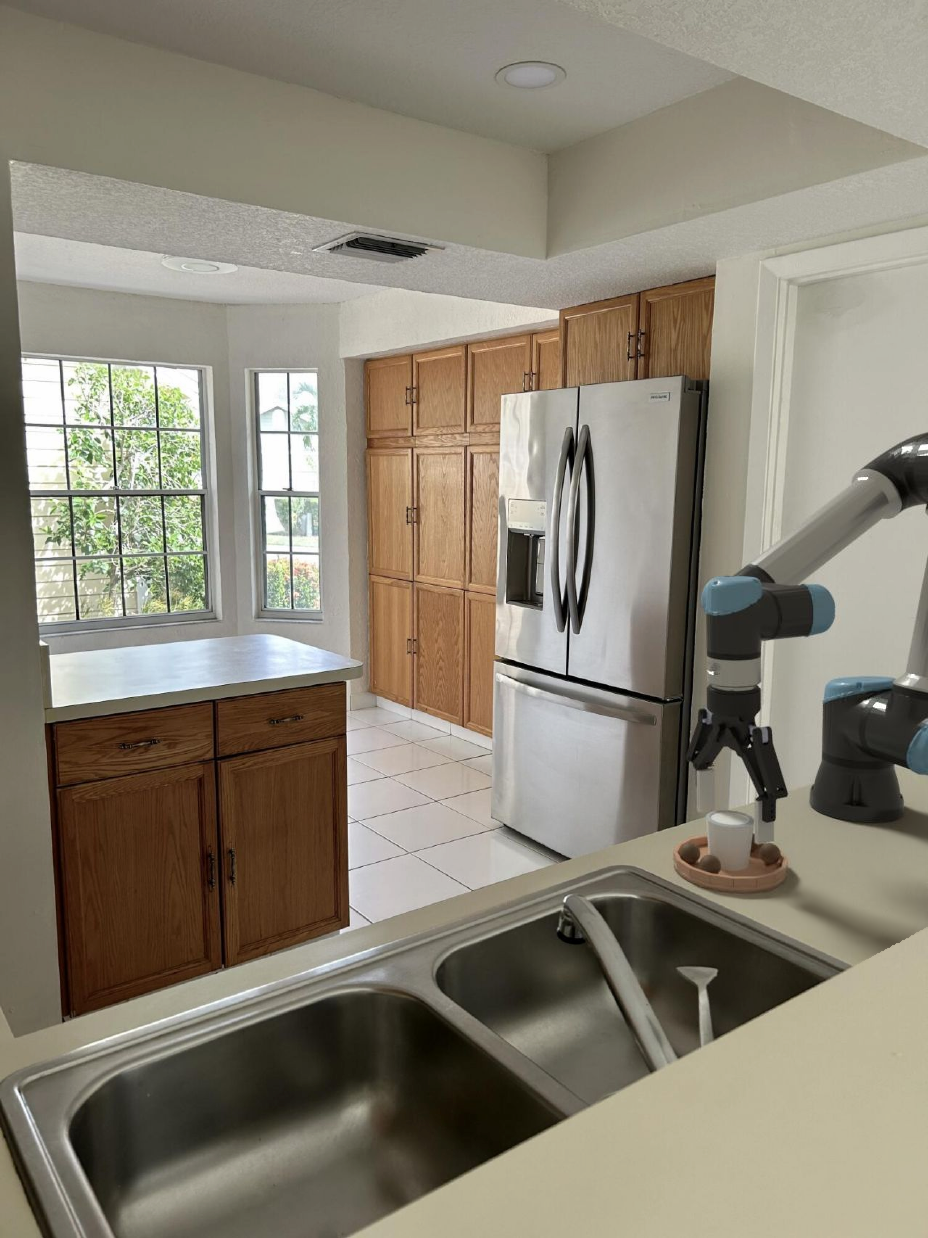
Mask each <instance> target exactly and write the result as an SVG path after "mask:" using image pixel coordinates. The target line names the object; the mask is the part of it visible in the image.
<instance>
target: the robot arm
mask: <svg viewBox="0 0 928 1238" xmlns="http://www.w3.org/2000/svg"><path fill="white" fill-rule="evenodd" d="M921 505H926V506H925V510H924V511H925V512H924V513H925V514H926V515H927V516H928V431H927V432H923V433H919V434H916V435H914V436H912V437H909V438H907V439H905V440H903V441H901V442H899V443H897V444H895V445H894V446H892V447H891V448H889V449H887V450H886V451H884V452H882V453H881V454H879V455H878V456H877V457H875V458H874V459H872V460H871V461H870V462H868V463H867V464H866V465H864V466H863V467H862V468H860V470H858V471H857V472H855V473H854V475H853V476H852V479H851V484H850V485H848V487H846V488H844V490H842V491H841V492H839V493H838V494H837V495H836V496H834V497H833V498H831V499H830V500H829V501H828V502H826V503H825V504H824V505H823V506H821V507H820V508H818V510H817V511H815V512H814V513H812V514H811V515H809V516H808V517H807V518H806V519H805V520H804V521H802V522H801V523H799V524H798V525H797V526H795V528H793V529H792V530H790V531H789V532H788V533H786V534H785V535H784V536H783V537H781V538H780V539H779V540H778V541H776V542H775V543H774V544H772V545H771V546H770V547H769V548H767V549H766V550H764V551H763V552H762V553H761V554H760V555H758V556H757V557H756V558H754V559H753V560H752V561H750V562H749V563H748V564H747V565H745V566H744V567H743V568H741V569H740V570H739V571H737V572H736V573H734V574H733V575H731V576H730V575H723V576H722V575H721V576H716V577H713V578H712V579H710V580H709V581H708V582H707V583H706V585H704V587H703V590H702V592H701V596H700V597H701V598H700V599H701V601H700V602H701V606H702V607H701V608H702V609H703V612H704V613H705V624H706V625H705V627H706V628H705V629H706V630H705V632H706V641H705V643H706V681H707V683H709V685H708V686H707V687H706V707H705V708H699V709H698V713H697V722H696V723H697V724H696V726H695V729H694V731H693V735H692V738H691V740H690V743H689V746H688V749H687V752H686V754H685V759H686V761H687V762H688V763H692V766H693V769H695V786H696V787H695V788H696V812H697V813H699V814H701V813H707V812H713V811H715V769H714V768H712V767H714V766H715V764H714V762H715V760H716V759H717V757H718V756H719V754H720V753H721V751H722V750H723V749H724V748H726V747H727V748H729V749H730V750H731V751H733V752H735V754H736V755H737V757H739V758H741V760H742V762H743V764H744V767H745V769H746V772H747V773H748V776H749V778H750V780H751V782H752V785H753V786H754V789H755V791H756V793H757V795H758V796H757V797H754V834H755V843H756V844H762V843H771V842H774V841H775V822H776V818H777V800H779V799H780V800H781V799H784V798H787V797H788V796H789V792H788V789H787V786H786V782H785V779H784V775H783V773H782V768H781V765H780V762H779V758H778V756H777V753H776V750H775V749H776V748H775V746H774V740H773V737H774V736H773V730H772V727H771V726H769V725H767V726H762V727H761V726H757V723H756V716H757V714H758V713H760V712H761V709H762V689H761V687H760V686H759V685H760V683H762V644H763V642H766V641H767V642H768V641H775V640H781V639H783V640H784V639H792V638H801V637H802V638H803V637H804V638H809V637H810V636H811V637H812V636H815V635H820V634H823V633H826V632H827V631H828V630H829V629H831V627H832V625H833V624H834V621H835V618H836V604H835V603H836V602H835V600H834V597H833V595H832V593H831V592H830V591H829V589H828V588H826V587H825V586H823V585H821V584H818V583H816V584H814V583H813V584H808V583H807V584H806V583H803V582H804V581H805V580H806V579H808V578H809V577H811V575H813V574H814V573H815V572H816V571H818V570H819V569H820V568H822V567H823V566H824V565H825V564H826V563H828V562H829V561H830V560H831V559H833V558H834V557H835V556H837V555H838V554H839V553H841V552H842V551H843V550H845V549H846V548H847V547H848V546H849V545H851V544H852V543H854V542H855V541H856V540H858V538H860V537H861V536H862V535H864V534H865V533H866V532H867V531H869V530H870V529H872V528H873V527H874V526H875V525H876V524H877V523H879V522H880V521H881V520H885V519H886V520H891V519H894V518H895V517H896V516H898V515H899V514H901V513H902V512H903V511H905V510H907V509H909V508H912V507H916V506H921ZM919 594H920V595H919V600H918V604H917V610H916V615H915V621H914V627H913V632H912V637H911V643H910V648H909V653H908V658H907V663H906V667H905V672H904V673H903V674H902V675H901V676H899V677H898V678H894V677H892V676H890V677H889V676H877V675H876V676H874V675H873V676H866V675H865V676H863V675H862V676H860V675H859V676H846V677H839V678H833V679H831V680H829V681H828V682H827V683H826V684H825V687H824V694H823V695H824V696H823V700H822V723H821V725H822V726H821V727H822V731H821V734H822V735H821V761H820V764H819V767H818V769H817V772H816V775H815V778H814V783H813V784H812V785H811V787H810V790H809V804H810V805H809V806H810V807H812V808H813V809H814V810H815V811H817V812H819V813H821V814H824V815H826V816H829V817H833V818H837V819H840V820H845V821H846V820H847V821H852V822H858V823H859V822H861V823H862V822H863V823H884V822H890V821H894V820H897V819H899V818H902V816H903V815H904V811H905V798H904V796H903V794H902V793H901V789H900V783H899V779H898V777H897V773H896V770H895V765H896V766H899V767H902V768H905V769H907V770H910V771H912V772H913V773H915V774H916V775H921V776H928V556H927V557H926V563H925V568H924V574H923V579H922V583H921V589H920V593H919ZM710 767H711V768H710Z"/></svg>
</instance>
